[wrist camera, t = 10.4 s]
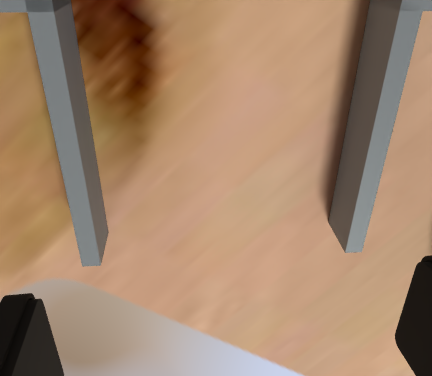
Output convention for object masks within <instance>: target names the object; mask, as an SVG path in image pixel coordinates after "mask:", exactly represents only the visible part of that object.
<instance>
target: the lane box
mask: <svg viewBox="0 0 432 376" xmlns="http://www.w3.org/2000/svg"><path fill="white" fill-rule="evenodd" d="M423 11H432V0H370V4H369V10H368V15H367V20H366V26H365V31H364V36H363V41H362V47H361V52H360V57H359V63H358V68H357V73H356V79H355V84H354V89H353V95H352V100H351V105H350V111H349V116H348V121H347V127H346V132H345V137H344V142H343V148H342V153H341V158H340V164H339V169H338V174H337V180H336V185H335V190H334V196H333V201H332V206H331V212H330V217H329V222H328V223H329V224H330V226H331V228H332V230H333V232H334V233H335V235H336V237H337V239H338V241H339V242H340V244H341V246H342V248H343V250H344V251H345V253H350V252H362V249H363V245H364V241H365V237H366V233H367V229H368V225H369V221H370V218H371V214H372V210H373V206H374V202H375V198H376V194H377V190H378V186H379V182H380V178H381V174H382V170H383V166H384V162H385V158H386V154H387V150H388V146H389V142H390V138H391V134H392V130H393V126H394V123H395V119H396V115H397V111H398V107H399V103H400V99H401V95H402V91H403V87H404V83H405V79H406V75H407V71H408V67H409V63H410V59H411V55H412V51H413V47H414V43H415V39H416V35H417V31H418V28H419V24H420V20H421V16H422V12H423ZM0 12H27V13H28V17H29V22H30V27H31V31H32V36H33V41H34V45H35V50H36V54H37V59H38V64H39V68H40V73H41V78H42V82H43V87H44V91H45V96H46V101H47V105H48V110H49V115H50V119H51V124H52V128H53V133H54V138H55V142H56V147H57V152H58V156H59V161H60V165H61V170H62V175H63V179H64V184H65V189H66V193H67V198H68V202H69V207H70V212H71V216H72V221H73V226H74V230H75V235H76V239H77V244H78V249H79V253H80V258H81V263H82V266H100V265H101V262H102V258H103V254H104V249H105V245H106V241H107V237H108V227H107V221H106V215H105V209H104V202H103V196H102V190H101V184H100V178H99V172H98V166H97V159H96V153H95V147H94V141H93V135H92V129H91V122H90V116H89V110H88V104H87V98H86V92H85V86H84V79H83V73H82V67H81V61H80V55H79V49H78V43H77V36H76V30H75V24H74V18H73V12H72V6H71V0H0Z"/></svg>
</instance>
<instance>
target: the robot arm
mask: <svg viewBox="0 0 432 376" xmlns="http://www.w3.org/2000/svg"><path fill="white" fill-rule="evenodd" d="M395 340H396V344H397V346H398V348H399V350H400V351H401V353H402V355H403V356H404V358H405V359H406V361H407V362H408V364H409V366H410V367H411V369H412V370H413V372H414V373H415V375H416V376H432V256H425V257H424V258H423V259H422V261H421V262H419V263H418V264H417V266H416V268H415V271H414V275H413V278H412V281H411V284H410V287H409V291H408V294H407V297H406V300H405V304H404V307H403V310H402V313H401V316H400V320H399V323H398V326H397V329H396V332H395ZM0 376H64V373H63V369H62V365H61V362H60V359H59V355H58V351H57V348H56V345H55V342H54V338H53V335H52V331H51V328H50V324H49V321H48V317H47V314H46V310H45V307H44V304H43V301H42V299H35V297H34V295H33V294H32V293H29V294H18V295H7V296H4V297H3V299H2V300H1V302H0Z"/></svg>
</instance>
